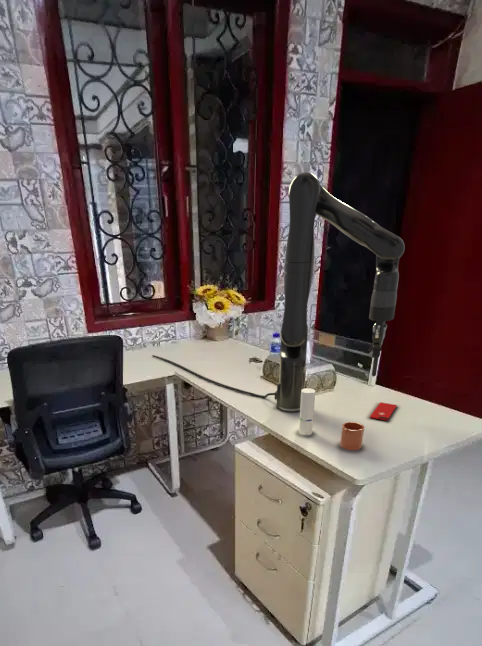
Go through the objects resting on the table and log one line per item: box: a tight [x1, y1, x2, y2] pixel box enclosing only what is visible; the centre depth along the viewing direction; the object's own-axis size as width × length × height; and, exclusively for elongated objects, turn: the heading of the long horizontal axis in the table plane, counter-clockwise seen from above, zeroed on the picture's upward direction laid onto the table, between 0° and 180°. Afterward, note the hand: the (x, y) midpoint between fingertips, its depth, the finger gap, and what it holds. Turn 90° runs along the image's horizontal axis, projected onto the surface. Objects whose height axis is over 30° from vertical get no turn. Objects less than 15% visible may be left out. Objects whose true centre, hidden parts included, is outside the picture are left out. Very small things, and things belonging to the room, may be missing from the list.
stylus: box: [371, 342, 379, 377], centre depth 142 cm, size 1×1×12 cm
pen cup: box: [339, 421, 365, 451], centre depth 125 cm, size 6×6×7 cm
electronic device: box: [369, 402, 398, 422], centre depth 148 cm, size 6×1×15 cm
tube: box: [298, 387, 316, 436], centre depth 133 cm, size 4×4×15 cm
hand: (376, 356), depth 141 cm, fingers closed on stylus, 1 cm apart
